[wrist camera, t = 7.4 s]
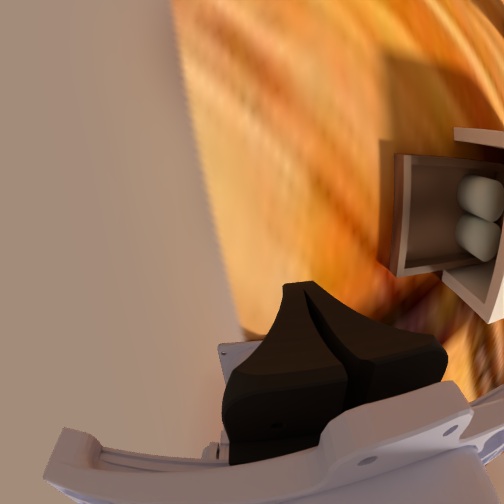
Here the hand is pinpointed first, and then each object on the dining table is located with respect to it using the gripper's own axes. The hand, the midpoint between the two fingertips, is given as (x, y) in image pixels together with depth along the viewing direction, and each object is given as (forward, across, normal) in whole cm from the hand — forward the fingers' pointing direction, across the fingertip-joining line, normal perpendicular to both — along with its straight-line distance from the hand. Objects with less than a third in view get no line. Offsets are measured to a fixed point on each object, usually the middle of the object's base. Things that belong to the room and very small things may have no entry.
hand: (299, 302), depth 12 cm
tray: (+11, -17, -1) cm, 20 cm away
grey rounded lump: (+10, -19, -2) cm, 21 cm away
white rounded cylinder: (+10, -19, +1) cm, 21 cm away
